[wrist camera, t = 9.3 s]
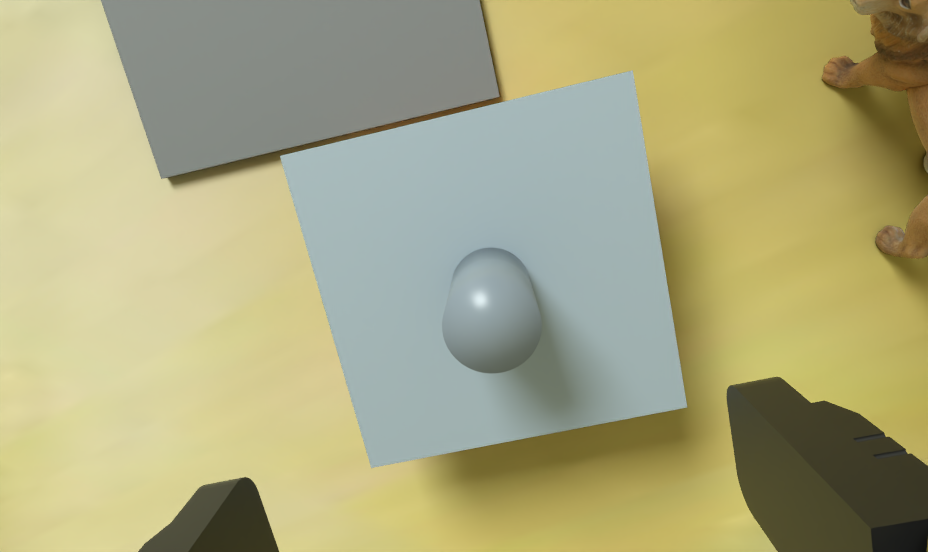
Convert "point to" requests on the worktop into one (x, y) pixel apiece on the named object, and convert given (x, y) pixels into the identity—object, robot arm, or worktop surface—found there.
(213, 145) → the mat
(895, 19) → the lion figurine
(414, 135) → the lid
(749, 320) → the worktop surface
